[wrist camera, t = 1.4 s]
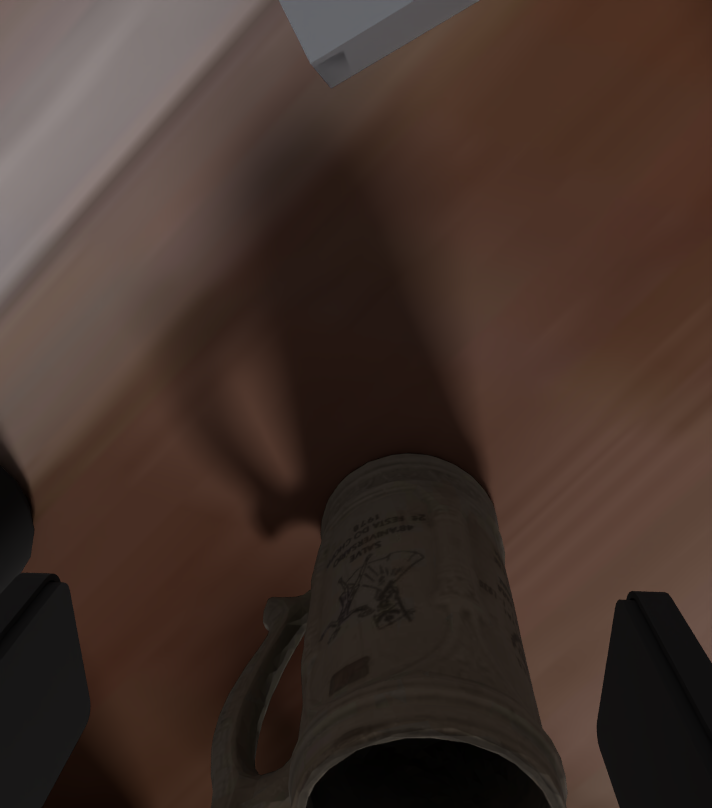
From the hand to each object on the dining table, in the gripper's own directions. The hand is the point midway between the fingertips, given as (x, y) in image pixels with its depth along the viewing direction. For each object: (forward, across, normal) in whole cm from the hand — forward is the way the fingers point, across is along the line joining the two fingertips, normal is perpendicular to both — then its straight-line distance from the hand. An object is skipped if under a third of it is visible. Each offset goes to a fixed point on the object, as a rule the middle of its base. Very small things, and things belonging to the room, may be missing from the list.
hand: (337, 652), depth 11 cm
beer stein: (+27, 0, +15) cm, 31 cm away
